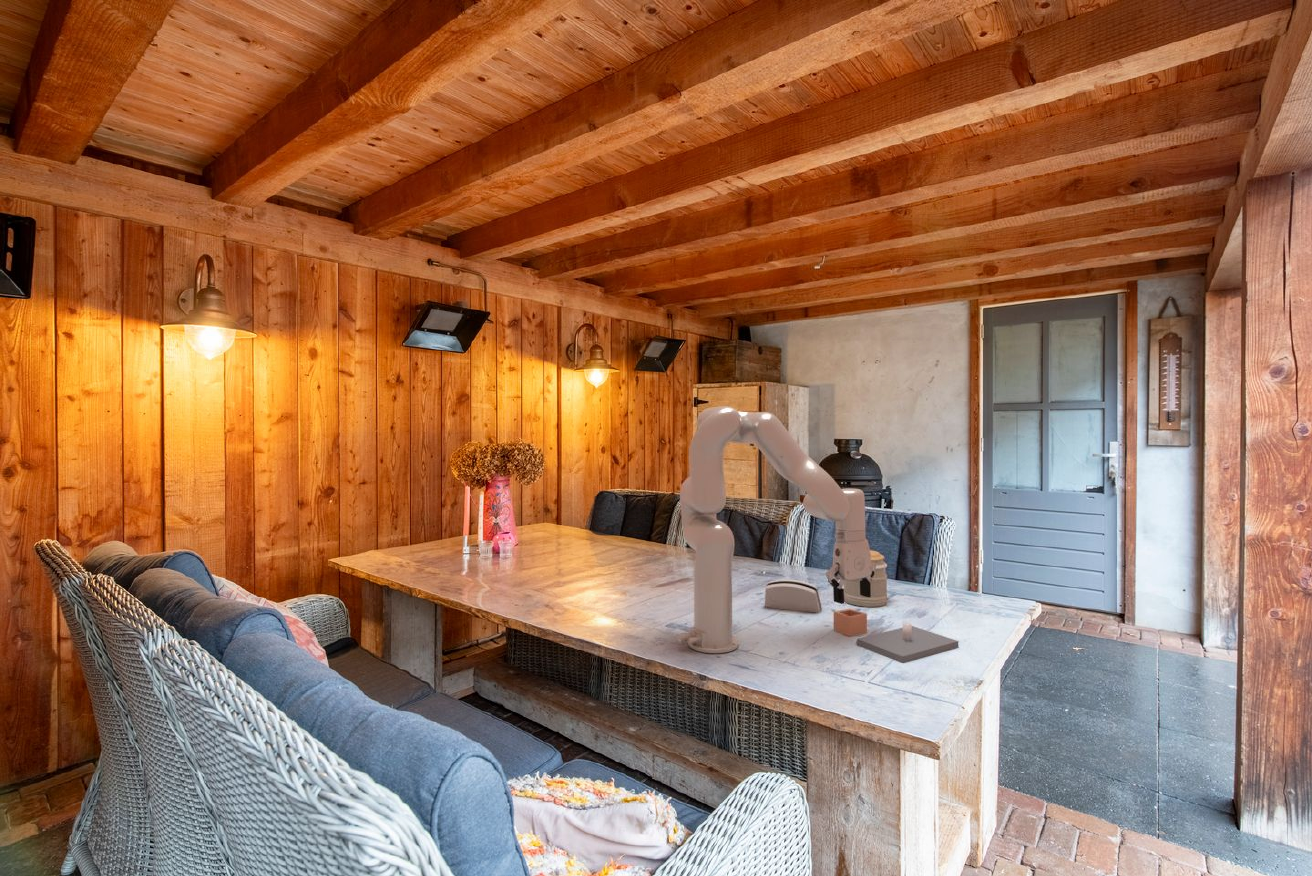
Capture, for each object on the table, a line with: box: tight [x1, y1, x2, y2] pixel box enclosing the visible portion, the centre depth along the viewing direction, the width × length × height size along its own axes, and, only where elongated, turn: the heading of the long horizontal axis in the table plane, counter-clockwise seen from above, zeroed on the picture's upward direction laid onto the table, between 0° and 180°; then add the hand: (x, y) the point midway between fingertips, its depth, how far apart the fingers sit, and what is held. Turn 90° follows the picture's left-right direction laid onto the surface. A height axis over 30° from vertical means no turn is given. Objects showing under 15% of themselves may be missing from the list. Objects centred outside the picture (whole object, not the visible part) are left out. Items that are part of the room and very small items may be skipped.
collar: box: [833, 608, 868, 638], centre depth 170 cm, size 6×6×5 cm
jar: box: [843, 549, 888, 608], centre depth 198 cm, size 13×13×18 cm
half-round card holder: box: [764, 578, 822, 614], centre depth 191 cm, size 17×5×10 cm, turn 67°
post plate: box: [856, 622, 959, 663], centre depth 159 cm, size 20×14×6 cm
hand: (852, 599), depth 170 cm, fingers open, 9 cm apart
